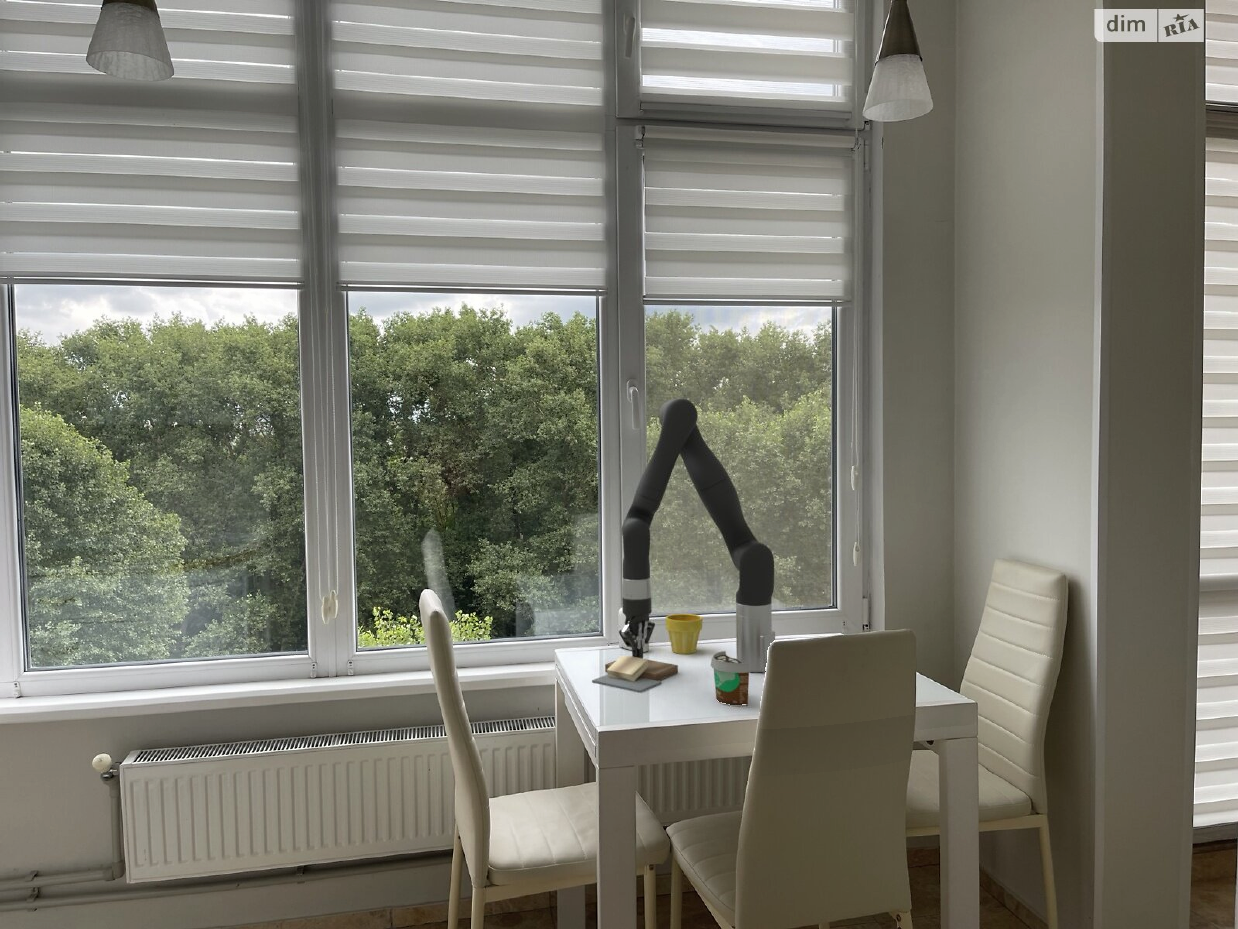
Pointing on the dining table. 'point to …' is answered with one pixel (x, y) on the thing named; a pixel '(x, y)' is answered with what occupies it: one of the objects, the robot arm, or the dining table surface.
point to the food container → (730, 679)
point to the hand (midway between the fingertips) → (637, 662)
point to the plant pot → (684, 632)
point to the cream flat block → (628, 668)
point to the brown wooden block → (655, 670)
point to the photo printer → (621, 626)
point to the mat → (628, 683)
